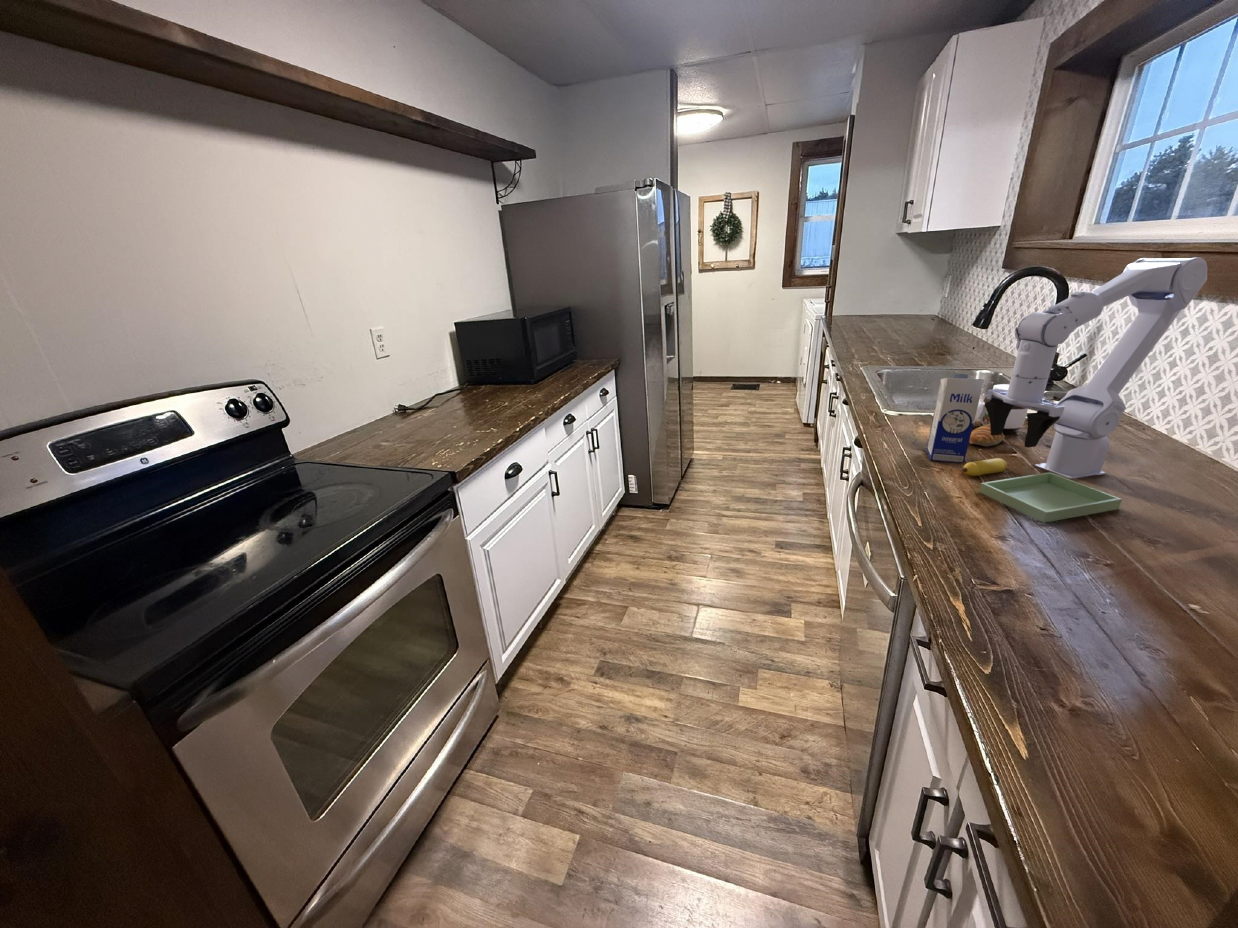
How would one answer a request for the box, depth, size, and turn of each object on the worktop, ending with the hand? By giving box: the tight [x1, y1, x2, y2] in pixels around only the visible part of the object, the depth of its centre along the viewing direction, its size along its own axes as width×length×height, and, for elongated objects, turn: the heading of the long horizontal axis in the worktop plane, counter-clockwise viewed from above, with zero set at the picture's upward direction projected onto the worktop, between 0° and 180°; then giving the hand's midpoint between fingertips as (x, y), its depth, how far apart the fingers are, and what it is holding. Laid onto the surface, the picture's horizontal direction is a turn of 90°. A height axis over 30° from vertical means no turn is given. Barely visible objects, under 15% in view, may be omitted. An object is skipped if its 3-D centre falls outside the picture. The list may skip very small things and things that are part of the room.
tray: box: [978, 471, 1123, 524], centre depth 96 cm, size 17×13×3 cm
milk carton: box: [925, 373, 985, 464], centre depth 115 cm, size 7×7×20 cm
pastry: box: [969, 425, 1005, 448], centre depth 126 cm, size 9×7×4 cm
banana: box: [961, 457, 1008, 477], centre depth 109 cm, size 11×3×3 cm, turn 103°
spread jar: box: [974, 383, 1029, 434], centre depth 134 cm, size 12×11×12 cm
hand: (1012, 440), depth 103 cm, fingers open, 7 cm apart
